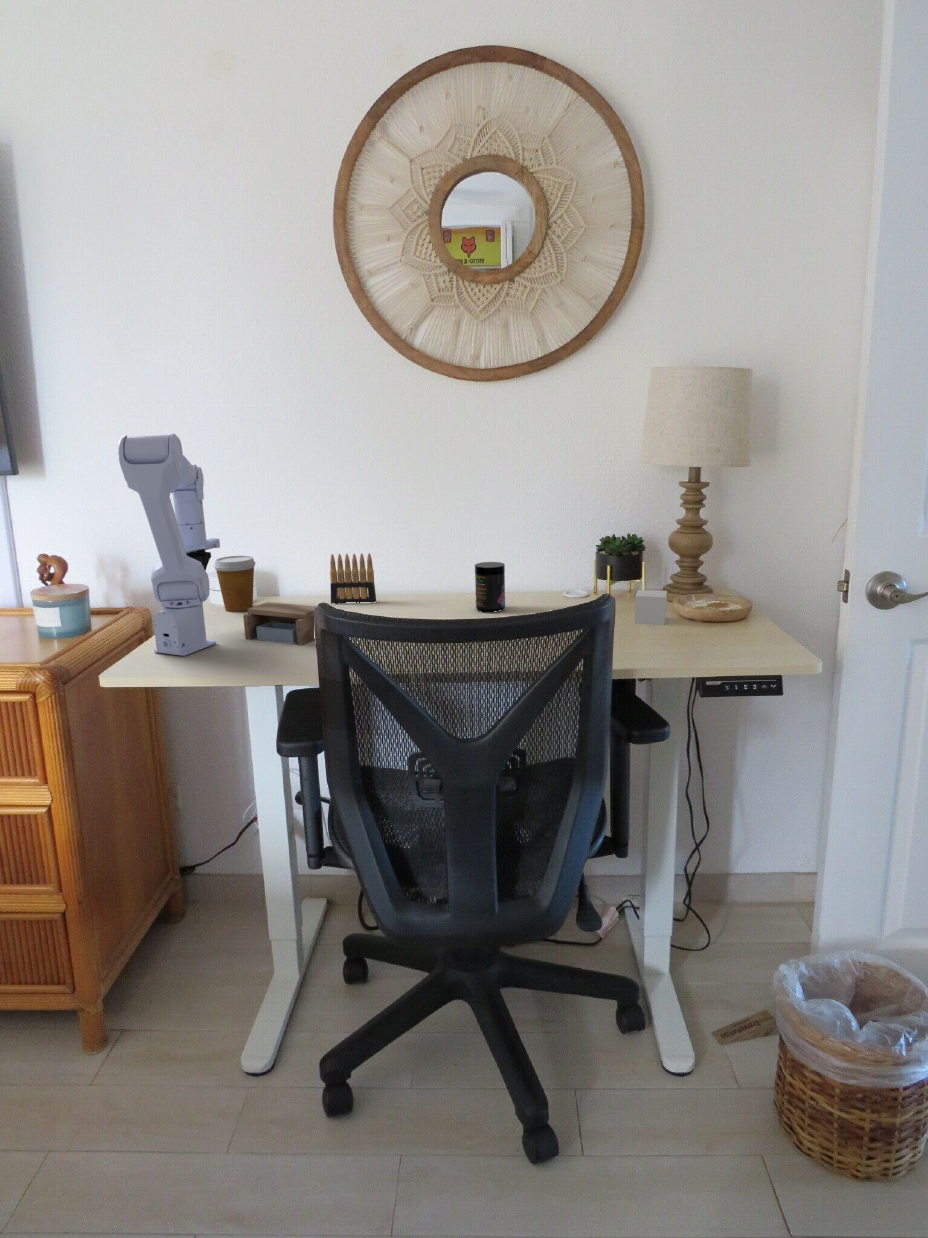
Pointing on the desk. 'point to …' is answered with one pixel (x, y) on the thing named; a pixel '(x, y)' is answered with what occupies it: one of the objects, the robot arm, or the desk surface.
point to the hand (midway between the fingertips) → (197, 586)
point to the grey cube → (650, 607)
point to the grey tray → (277, 632)
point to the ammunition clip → (352, 580)
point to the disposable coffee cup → (236, 581)
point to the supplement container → (490, 586)
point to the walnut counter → (281, 619)
